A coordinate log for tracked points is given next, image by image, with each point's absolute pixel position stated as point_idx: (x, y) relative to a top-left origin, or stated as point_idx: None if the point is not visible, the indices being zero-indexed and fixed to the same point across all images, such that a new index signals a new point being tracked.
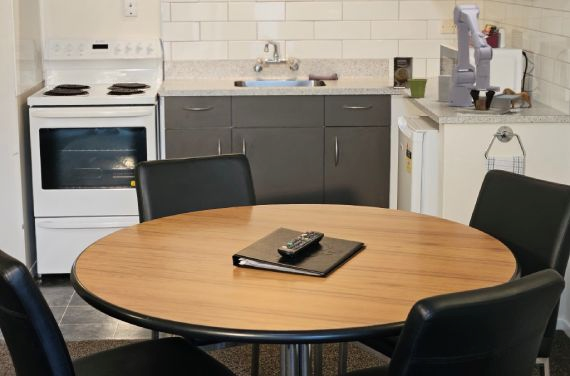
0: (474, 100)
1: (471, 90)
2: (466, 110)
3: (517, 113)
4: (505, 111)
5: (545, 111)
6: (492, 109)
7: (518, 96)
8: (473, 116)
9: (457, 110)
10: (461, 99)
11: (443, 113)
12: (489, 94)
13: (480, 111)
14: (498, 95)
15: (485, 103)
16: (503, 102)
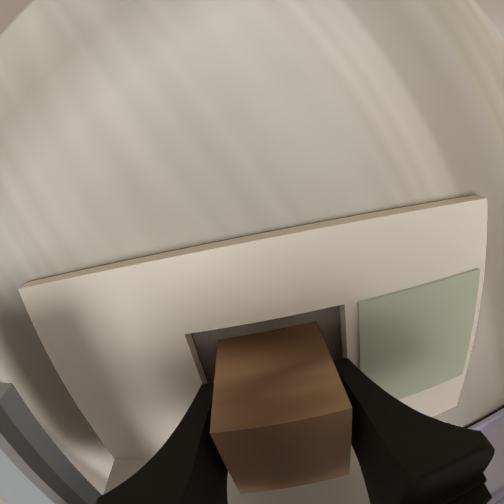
0: (379, 403)
1: (482, 493)
2: (389, 239)
3: (16, 388)
4: (80, 402)
5: None
6: None
7: (3, 497)
8: (130, 15)
9: (464, 202)
10: (502, 447)
11: (491, 71)
12: (110, 499)
13: (201, 257)
14: (52, 495)
15: (215, 412)
16: None
